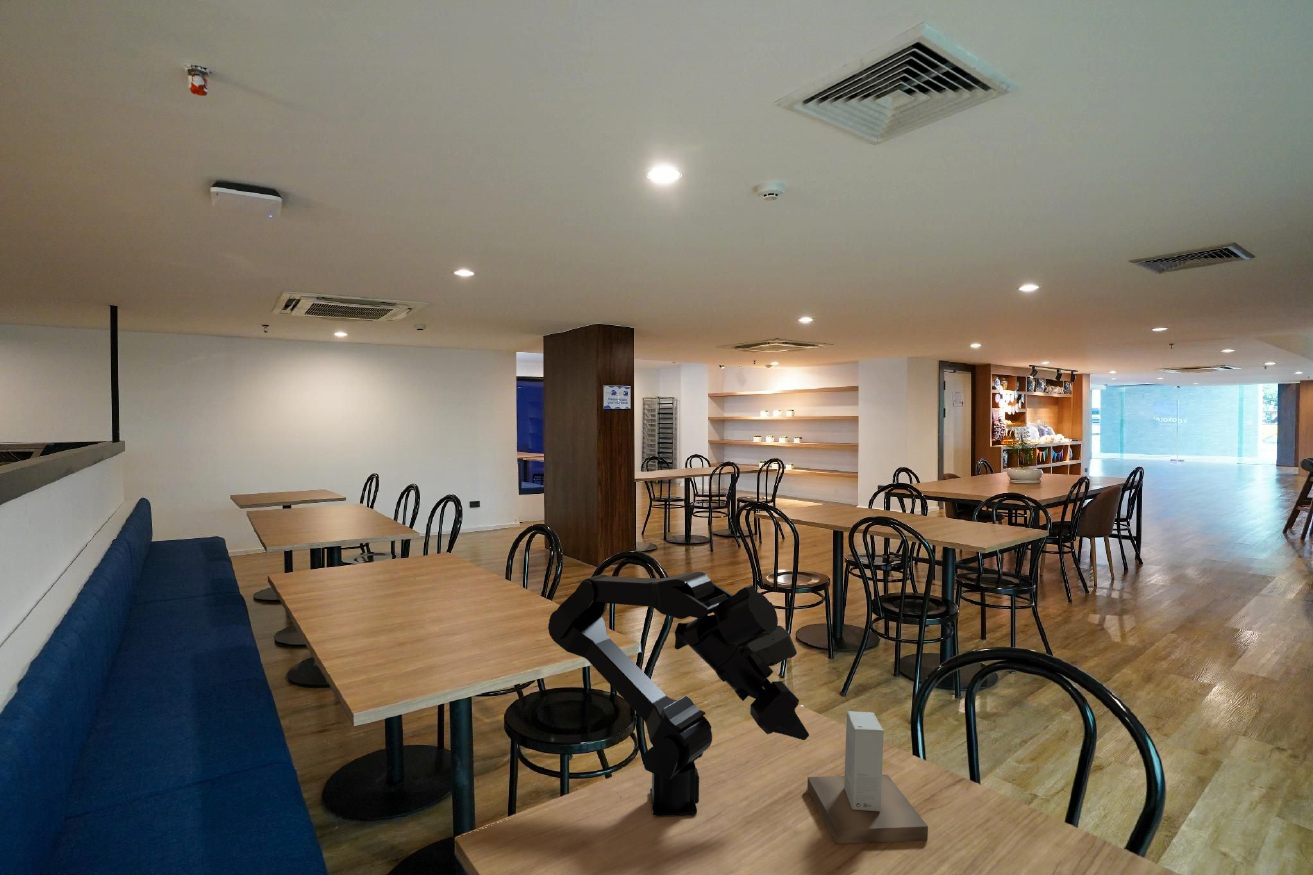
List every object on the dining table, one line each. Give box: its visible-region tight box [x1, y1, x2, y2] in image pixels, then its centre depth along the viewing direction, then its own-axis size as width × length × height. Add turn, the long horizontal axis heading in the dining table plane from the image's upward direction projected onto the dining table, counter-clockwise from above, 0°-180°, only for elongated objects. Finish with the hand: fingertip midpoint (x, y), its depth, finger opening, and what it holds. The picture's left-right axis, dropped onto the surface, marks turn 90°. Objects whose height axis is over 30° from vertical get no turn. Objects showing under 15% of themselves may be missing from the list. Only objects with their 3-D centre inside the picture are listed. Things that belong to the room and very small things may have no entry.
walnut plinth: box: [806, 774, 929, 845], centre depth 98 cm, size 13×13×2 cm
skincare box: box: [844, 710, 885, 811], centre depth 98 cm, size 6×4×12 cm
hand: (794, 721), depth 98 cm, fingers open, 9 cm apart
